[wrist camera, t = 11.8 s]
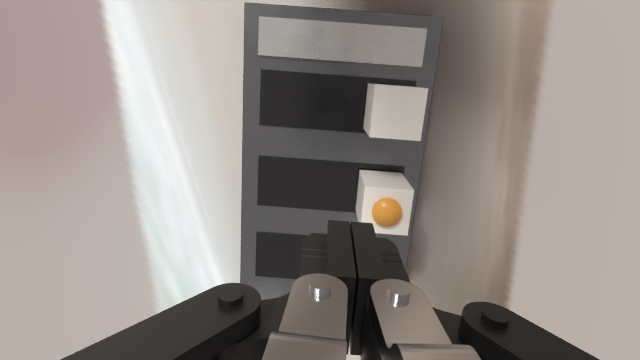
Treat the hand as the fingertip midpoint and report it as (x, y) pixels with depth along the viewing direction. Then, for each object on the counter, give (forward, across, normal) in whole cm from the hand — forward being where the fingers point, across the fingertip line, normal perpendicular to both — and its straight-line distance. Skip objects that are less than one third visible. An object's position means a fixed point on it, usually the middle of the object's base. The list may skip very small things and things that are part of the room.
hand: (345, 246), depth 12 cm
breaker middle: (+14, -3, +3) cm, 15 cm away
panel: (+17, 0, +3) cm, 17 cm away
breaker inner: (+14, -3, -3) cm, 15 cm away
